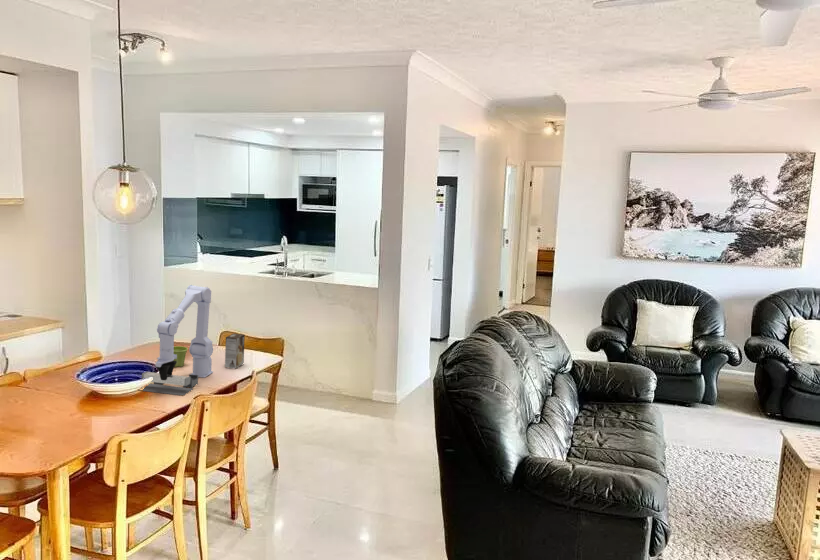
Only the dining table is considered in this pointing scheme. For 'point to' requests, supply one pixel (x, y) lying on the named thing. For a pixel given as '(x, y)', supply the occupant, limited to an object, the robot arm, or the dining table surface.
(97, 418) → the dining table surface
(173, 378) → the rail
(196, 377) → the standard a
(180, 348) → the plant pot
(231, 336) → the coffee box
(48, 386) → the dining table surface
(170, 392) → the mat
